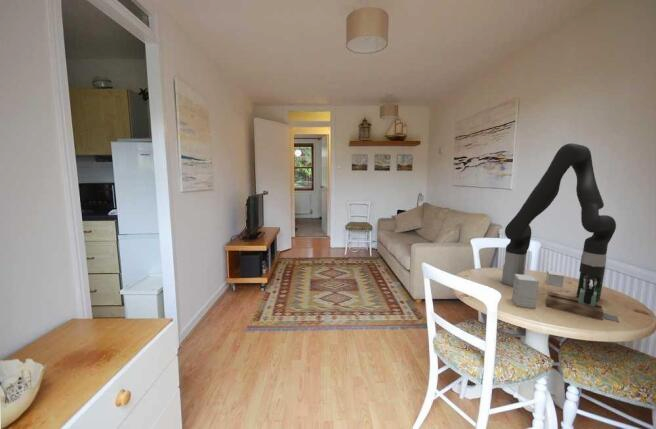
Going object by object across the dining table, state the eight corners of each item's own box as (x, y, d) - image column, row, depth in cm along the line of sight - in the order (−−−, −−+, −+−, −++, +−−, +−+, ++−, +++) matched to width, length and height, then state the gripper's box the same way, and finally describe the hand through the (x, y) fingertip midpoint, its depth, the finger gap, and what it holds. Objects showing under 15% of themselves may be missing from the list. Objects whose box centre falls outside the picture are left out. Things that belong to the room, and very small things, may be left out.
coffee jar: (596, 303, 127) (603, 264, 124) (574, 297, 133) (579, 259, 131) (602, 298, 133) (608, 260, 130) (580, 292, 139) (585, 256, 136)
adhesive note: (562, 286, 146) (563, 275, 145) (548, 284, 149) (549, 273, 148) (559, 283, 152) (561, 272, 151) (545, 280, 154) (547, 270, 153)
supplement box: (529, 301, 128) (533, 275, 127) (535, 309, 122) (539, 281, 120) (511, 299, 131) (514, 273, 129) (516, 306, 124) (519, 278, 122)
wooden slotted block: (545, 306, 124) (546, 298, 123) (547, 298, 132) (547, 291, 131) (602, 320, 113) (603, 311, 112) (599, 310, 121) (601, 302, 120)
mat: (603, 318, 114) (603, 318, 114) (602, 313, 119) (602, 312, 119) (619, 322, 111) (619, 321, 111) (617, 316, 116) (617, 316, 116)
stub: (577, 309, 121) (580, 289, 119) (577, 307, 122) (580, 288, 121) (593, 313, 117) (596, 292, 116) (593, 311, 119) (596, 291, 117)
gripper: (580, 257, 124) (574, 294, 127) (581, 265, 114) (575, 305, 116) (603, 261, 119) (597, 299, 122) (607, 269, 109) (600, 311, 111)
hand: (586, 302), depth 119 cm, fingers closed on stub
